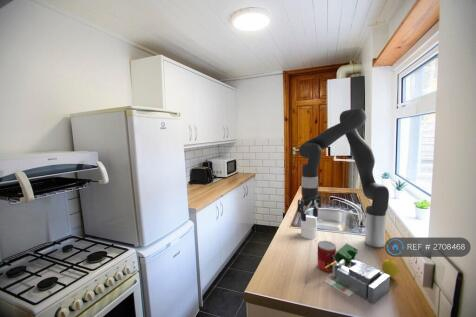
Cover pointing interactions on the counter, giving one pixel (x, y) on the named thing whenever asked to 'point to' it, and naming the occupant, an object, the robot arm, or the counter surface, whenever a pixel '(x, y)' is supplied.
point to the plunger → (337, 265)
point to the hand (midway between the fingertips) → (309, 218)
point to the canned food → (326, 255)
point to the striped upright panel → (339, 287)
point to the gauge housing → (364, 281)
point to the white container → (309, 227)
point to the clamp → (346, 253)
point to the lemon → (390, 267)
